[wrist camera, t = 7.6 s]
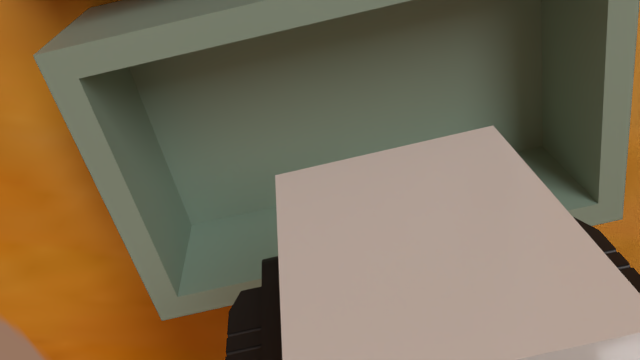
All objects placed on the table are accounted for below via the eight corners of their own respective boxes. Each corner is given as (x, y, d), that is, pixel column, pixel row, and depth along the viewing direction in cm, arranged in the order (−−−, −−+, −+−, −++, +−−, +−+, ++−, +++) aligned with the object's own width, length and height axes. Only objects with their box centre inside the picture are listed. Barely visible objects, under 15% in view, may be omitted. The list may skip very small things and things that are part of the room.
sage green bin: (552, -103, 18) (646, -90, 13) (552, 148, 22) (622, 219, 18) (88, 7, 18) (33, 55, 14) (181, 231, 22) (161, 320, 18)
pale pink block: (493, 125, 10) (668, 327, 6) (504, 325, 13) (632, 570, 8) (275, 175, 10) (284, 410, 6) (329, 363, 13) (364, 626, 8)
